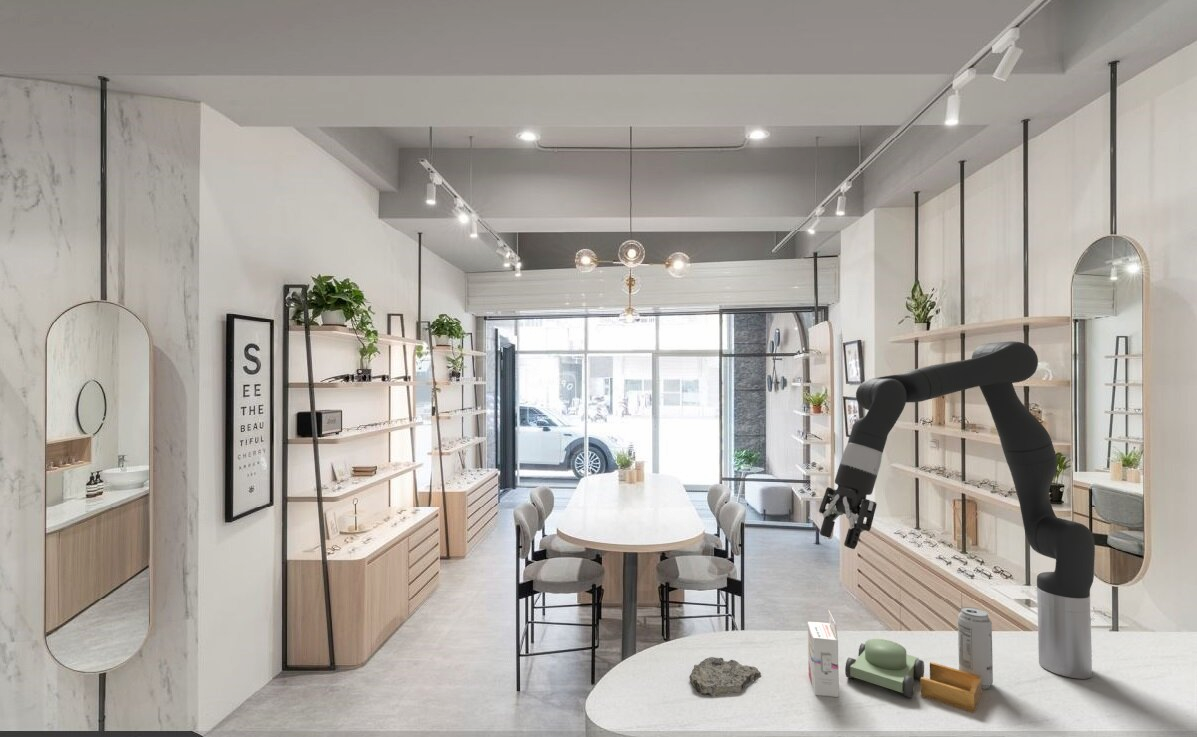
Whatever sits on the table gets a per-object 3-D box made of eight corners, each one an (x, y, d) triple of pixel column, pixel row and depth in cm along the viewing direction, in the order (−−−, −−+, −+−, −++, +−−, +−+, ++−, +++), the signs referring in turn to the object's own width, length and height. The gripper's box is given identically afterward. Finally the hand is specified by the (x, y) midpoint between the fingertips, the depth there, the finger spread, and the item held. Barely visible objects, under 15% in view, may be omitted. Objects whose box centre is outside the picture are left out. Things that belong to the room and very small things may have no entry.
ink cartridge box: (807, 674, 124) (806, 606, 124) (831, 677, 123) (830, 608, 123) (813, 695, 116) (813, 622, 116) (839, 698, 115) (838, 624, 115)
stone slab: (673, 685, 120) (673, 671, 120) (715, 657, 133) (715, 644, 133) (725, 709, 112) (725, 693, 112) (764, 676, 124) (764, 662, 124)
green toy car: (864, 657, 132) (864, 629, 132) (924, 675, 123) (924, 645, 124) (844, 681, 121) (844, 650, 121) (908, 702, 113) (908, 669, 113)
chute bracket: (930, 678, 122) (930, 661, 122) (981, 693, 116) (981, 676, 116) (920, 695, 115) (920, 678, 116) (974, 712, 109) (973, 694, 109)
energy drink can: (996, 692, 117) (995, 618, 117) (963, 686, 119) (961, 614, 119) (988, 678, 122) (986, 608, 123) (956, 673, 124) (954, 604, 125)
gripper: (897, 479, 114) (874, 557, 113) (852, 468, 128) (831, 537, 127) (865, 467, 113) (841, 546, 111) (824, 458, 127) (802, 528, 125)
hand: (836, 541), depth 119 cm, fingers open, 8 cm apart
